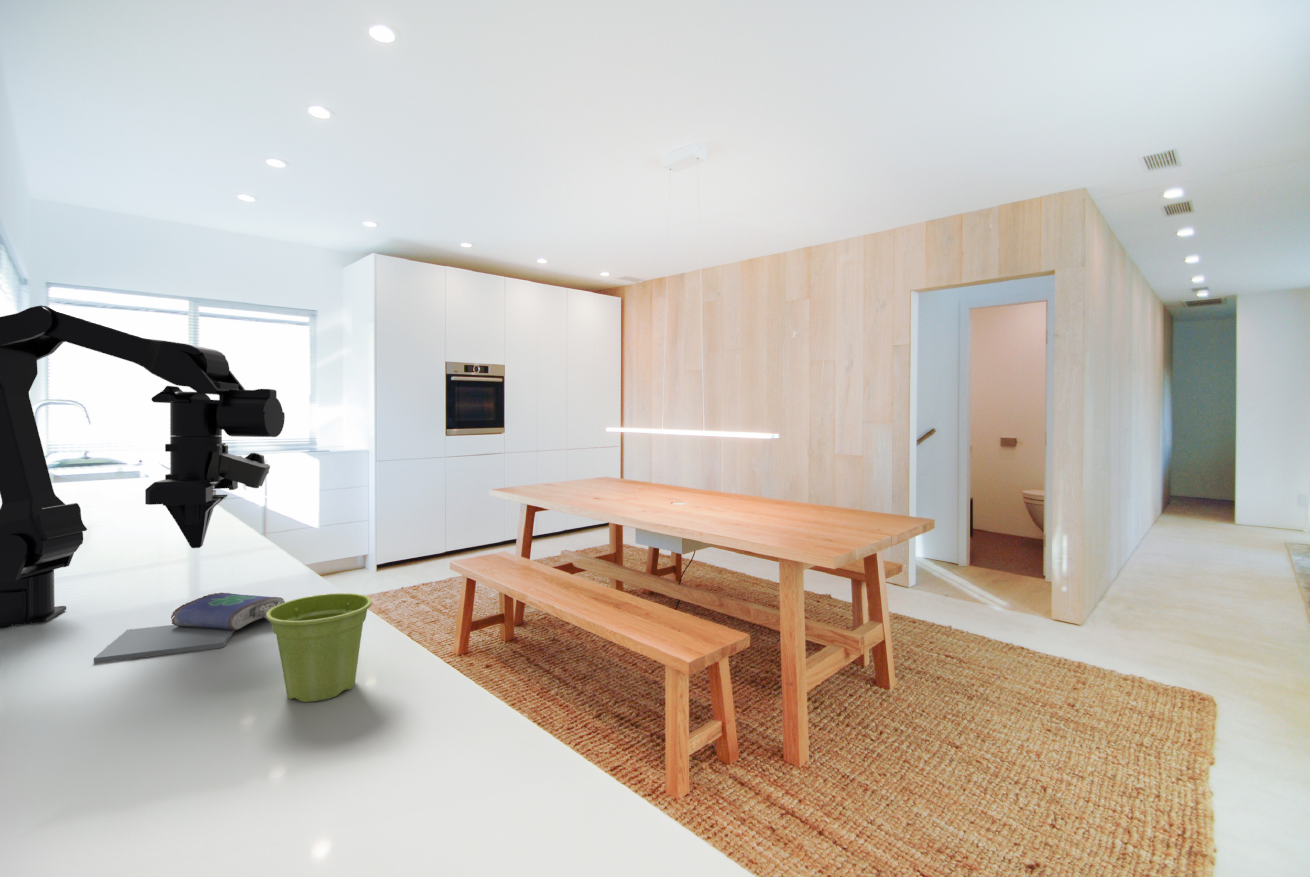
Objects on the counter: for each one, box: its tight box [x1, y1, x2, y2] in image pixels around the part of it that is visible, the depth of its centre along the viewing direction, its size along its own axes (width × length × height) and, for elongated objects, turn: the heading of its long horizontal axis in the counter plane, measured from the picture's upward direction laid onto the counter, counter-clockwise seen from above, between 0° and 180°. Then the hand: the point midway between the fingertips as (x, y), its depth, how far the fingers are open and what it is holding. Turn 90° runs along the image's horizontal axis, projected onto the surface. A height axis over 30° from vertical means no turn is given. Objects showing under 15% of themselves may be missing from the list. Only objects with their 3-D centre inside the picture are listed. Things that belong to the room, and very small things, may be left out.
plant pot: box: [266, 592, 372, 703], centre depth 61 cm, size 9×9×9 cm
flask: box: [170, 592, 286, 631], centre depth 80 cm, size 9×3×11 cm
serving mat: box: [93, 624, 236, 664], centre depth 74 cm, size 10×12×1 cm
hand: (196, 547), depth 83 cm, fingers closed
